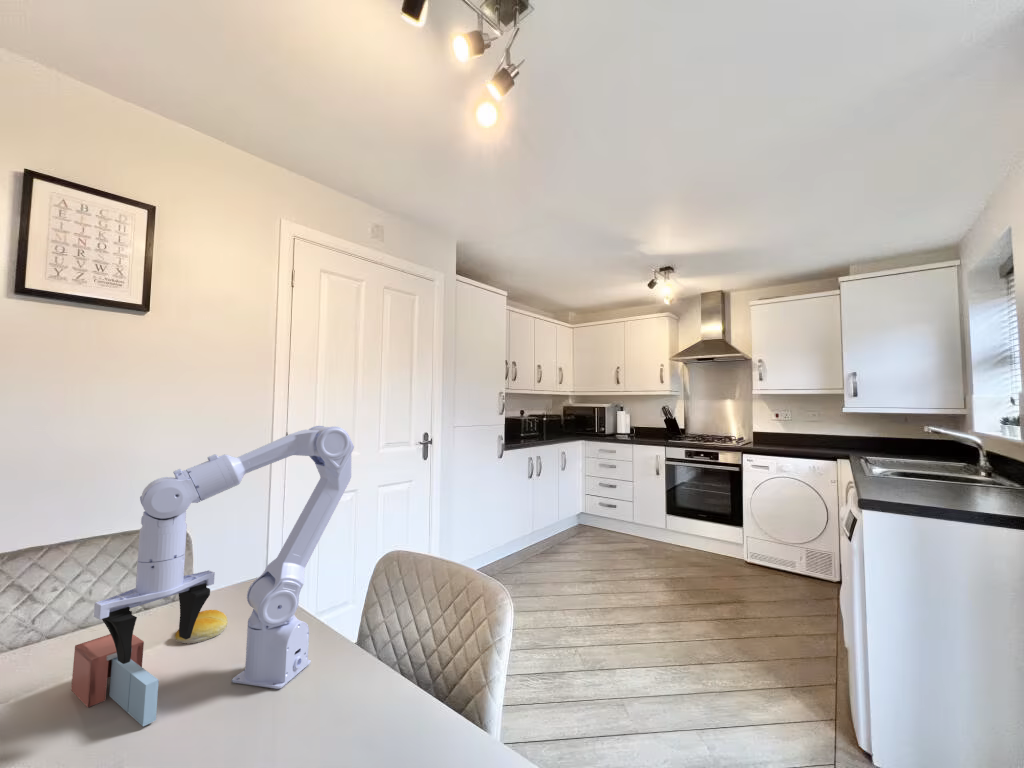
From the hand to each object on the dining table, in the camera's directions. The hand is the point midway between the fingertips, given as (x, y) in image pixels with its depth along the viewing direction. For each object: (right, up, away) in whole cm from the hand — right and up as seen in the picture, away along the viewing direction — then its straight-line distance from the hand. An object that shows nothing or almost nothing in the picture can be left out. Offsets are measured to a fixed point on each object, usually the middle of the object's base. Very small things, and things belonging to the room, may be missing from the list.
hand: (155, 648), depth 65 cm
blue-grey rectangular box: (-4, -9, 0) cm, 10 cm away
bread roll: (-10, -12, +23) cm, 28 cm away
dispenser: (-13, -10, +5) cm, 17 cm away
